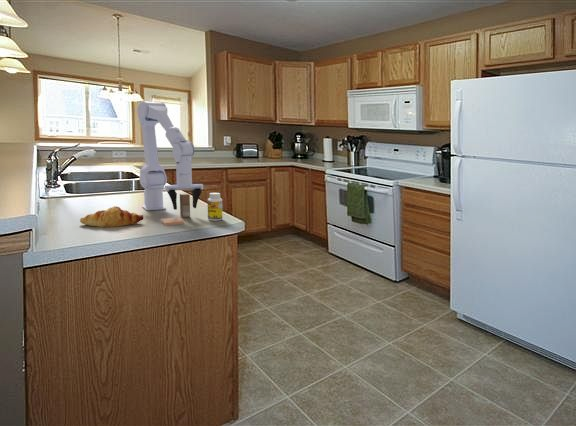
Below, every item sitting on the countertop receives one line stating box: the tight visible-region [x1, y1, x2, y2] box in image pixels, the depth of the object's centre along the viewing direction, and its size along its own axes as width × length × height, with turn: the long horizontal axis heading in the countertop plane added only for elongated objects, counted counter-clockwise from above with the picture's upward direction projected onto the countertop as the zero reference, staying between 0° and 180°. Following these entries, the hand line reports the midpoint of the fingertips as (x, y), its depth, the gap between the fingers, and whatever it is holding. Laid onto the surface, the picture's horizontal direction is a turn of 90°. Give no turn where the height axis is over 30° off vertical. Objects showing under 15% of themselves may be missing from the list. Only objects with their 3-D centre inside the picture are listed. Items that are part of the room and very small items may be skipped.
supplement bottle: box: [207, 192, 223, 222], centre depth 157 cm, size 6×6×10 cm
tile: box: [160, 217, 185, 226], centre depth 152 cm, size 1×7×7 cm
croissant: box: [79, 205, 144, 228], centre depth 146 cm, size 21×10×8 cm
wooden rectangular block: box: [179, 193, 191, 219], centre depth 160 cm, size 3×3×9 cm
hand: (185, 208), depth 161 cm, fingers open, 7 cm apart
